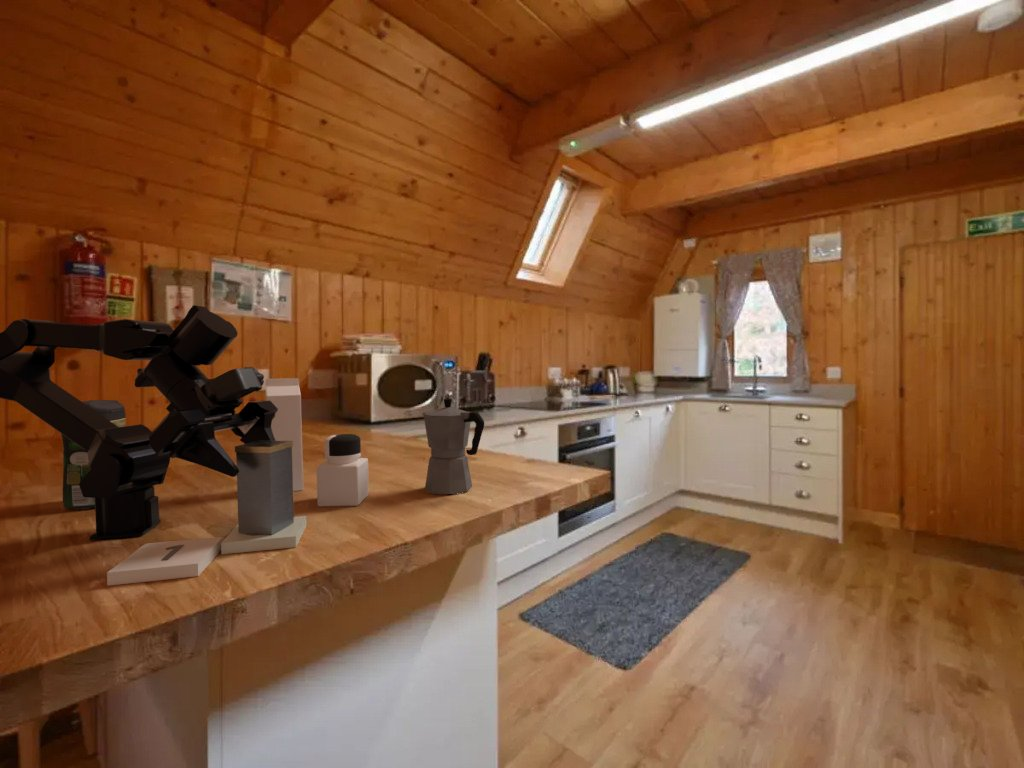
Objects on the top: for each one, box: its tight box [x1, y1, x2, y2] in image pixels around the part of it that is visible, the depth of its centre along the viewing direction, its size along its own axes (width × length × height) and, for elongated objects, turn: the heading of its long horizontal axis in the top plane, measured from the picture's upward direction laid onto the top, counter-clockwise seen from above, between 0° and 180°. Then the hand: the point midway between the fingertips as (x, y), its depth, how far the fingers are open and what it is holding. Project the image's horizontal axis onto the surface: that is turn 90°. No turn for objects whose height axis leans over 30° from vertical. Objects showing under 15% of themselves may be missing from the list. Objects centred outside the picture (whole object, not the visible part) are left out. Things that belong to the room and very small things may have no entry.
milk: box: [264, 377, 304, 492], centre depth 95 cm, size 6×6×22 cm
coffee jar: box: [60, 399, 127, 511], centre depth 86 cm, size 10×8×19 cm
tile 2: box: [220, 515, 307, 555], centre depth 68 cm, size 9×9×2 cm
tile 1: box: [106, 536, 224, 587], centre depth 59 cm, size 9×9×2 cm
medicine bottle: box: [316, 433, 370, 508], centre depth 86 cm, size 7×7×12 cm
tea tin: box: [234, 440, 295, 535], centre depth 68 cm, size 5×5×12 cm
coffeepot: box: [422, 397, 485, 495], centre depth 93 cm, size 15×9×18 cm, turn 55°
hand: (259, 466), depth 68 cm, fingers open, 9 cm apart
